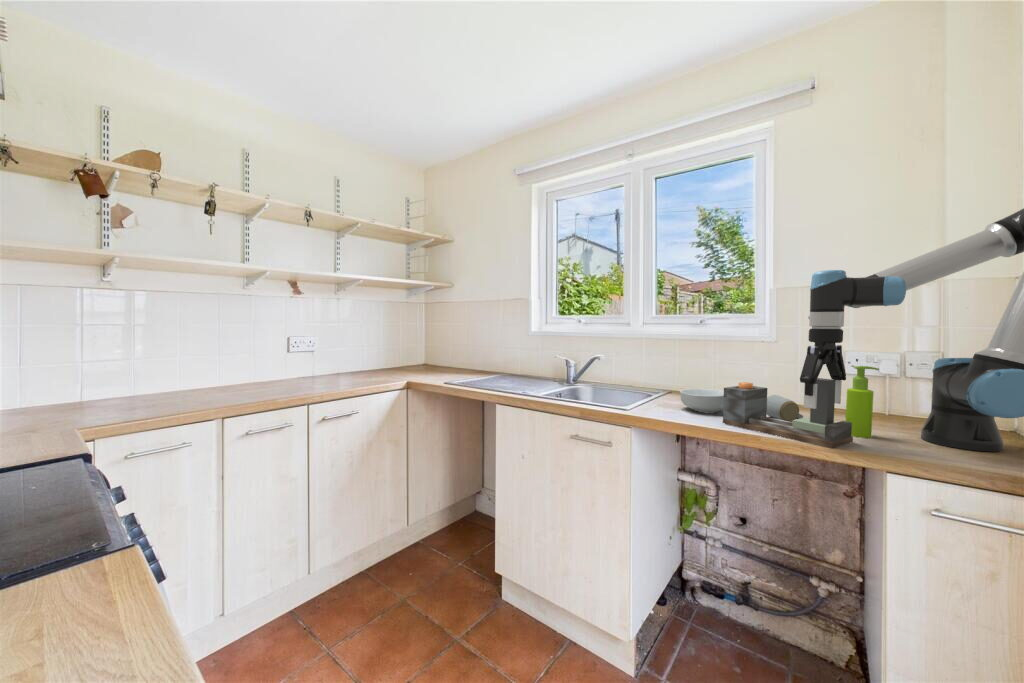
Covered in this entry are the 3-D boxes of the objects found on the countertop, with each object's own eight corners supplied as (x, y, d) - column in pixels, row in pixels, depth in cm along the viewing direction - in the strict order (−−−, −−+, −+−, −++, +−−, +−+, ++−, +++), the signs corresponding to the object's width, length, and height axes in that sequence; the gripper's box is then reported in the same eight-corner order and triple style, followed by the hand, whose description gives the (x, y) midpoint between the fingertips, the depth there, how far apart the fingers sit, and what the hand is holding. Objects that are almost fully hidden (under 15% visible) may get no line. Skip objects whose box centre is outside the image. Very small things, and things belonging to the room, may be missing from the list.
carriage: (838, 430, 115) (841, 379, 115) (824, 434, 111) (827, 381, 111) (806, 423, 122) (808, 376, 121) (792, 427, 118) (794, 377, 117)
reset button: (755, 392, 133) (755, 383, 133) (748, 394, 131) (748, 384, 131) (743, 391, 136) (743, 381, 136) (735, 392, 134) (736, 382, 134)
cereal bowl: (696, 404, 165) (697, 386, 164) (739, 412, 151) (740, 392, 151) (670, 409, 155) (670, 390, 155) (713, 418, 141) (713, 397, 141)
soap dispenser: (879, 439, 117) (883, 368, 116) (849, 436, 119) (852, 366, 118) (870, 433, 123) (873, 365, 122) (841, 431, 125) (844, 364, 124)
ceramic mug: (780, 422, 136) (781, 399, 135) (762, 416, 144) (763, 394, 143) (810, 422, 137) (811, 399, 136) (790, 416, 145) (791, 394, 145)
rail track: (852, 441, 114) (854, 400, 114) (831, 448, 108) (833, 404, 108) (744, 419, 140) (745, 385, 140) (722, 423, 134) (723, 387, 134)
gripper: (831, 327, 123) (828, 398, 125) (786, 327, 111) (783, 407, 112) (863, 328, 117) (859, 403, 118) (818, 328, 104) (815, 412, 106)
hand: (822, 405), depth 115 cm, fingers open, 13 cm apart
